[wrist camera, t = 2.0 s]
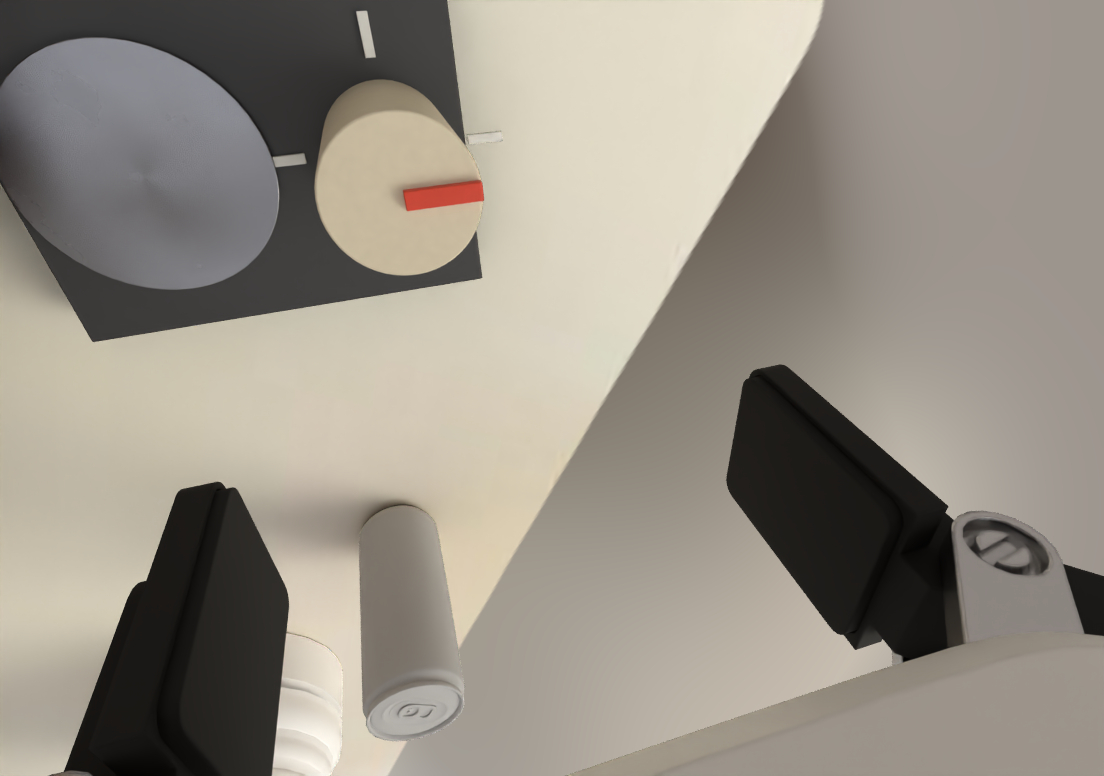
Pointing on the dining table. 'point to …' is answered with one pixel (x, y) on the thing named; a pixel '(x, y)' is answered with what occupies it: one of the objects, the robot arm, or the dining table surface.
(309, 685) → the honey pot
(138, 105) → the pale grey disc
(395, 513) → the beverage can
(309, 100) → the hot plate
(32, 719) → the dining table surface
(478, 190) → the knob
